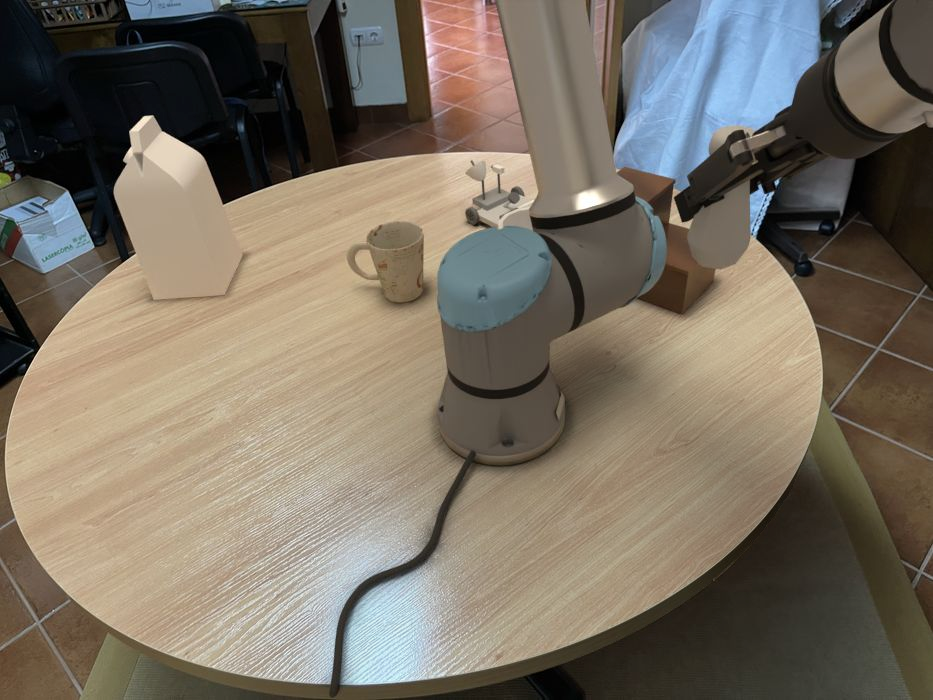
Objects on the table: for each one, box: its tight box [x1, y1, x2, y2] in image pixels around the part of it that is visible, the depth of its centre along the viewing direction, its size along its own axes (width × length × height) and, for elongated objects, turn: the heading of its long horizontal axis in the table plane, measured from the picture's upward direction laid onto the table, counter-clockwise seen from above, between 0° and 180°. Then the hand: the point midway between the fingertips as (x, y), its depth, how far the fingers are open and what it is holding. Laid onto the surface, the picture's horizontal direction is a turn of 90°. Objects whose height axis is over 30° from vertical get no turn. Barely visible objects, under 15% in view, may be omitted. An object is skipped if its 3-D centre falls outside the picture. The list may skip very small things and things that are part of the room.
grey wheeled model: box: [465, 159, 535, 229], centre depth 118 cm, size 18×10×12 cm
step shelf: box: [616, 166, 716, 315], centre depth 99 cm, size 10×16×14 cm, turn 50°
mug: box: [346, 220, 425, 303], centre depth 104 cm, size 8×13×10 cm, turn 78°
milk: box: [113, 115, 244, 301], centre depth 106 cm, size 12×12×26 cm
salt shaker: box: [687, 125, 757, 271], centre depth 64 cm, size 6×6×13 cm
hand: (697, 205), depth 69 cm, fingers closed on salt shaker, 3 cm apart
